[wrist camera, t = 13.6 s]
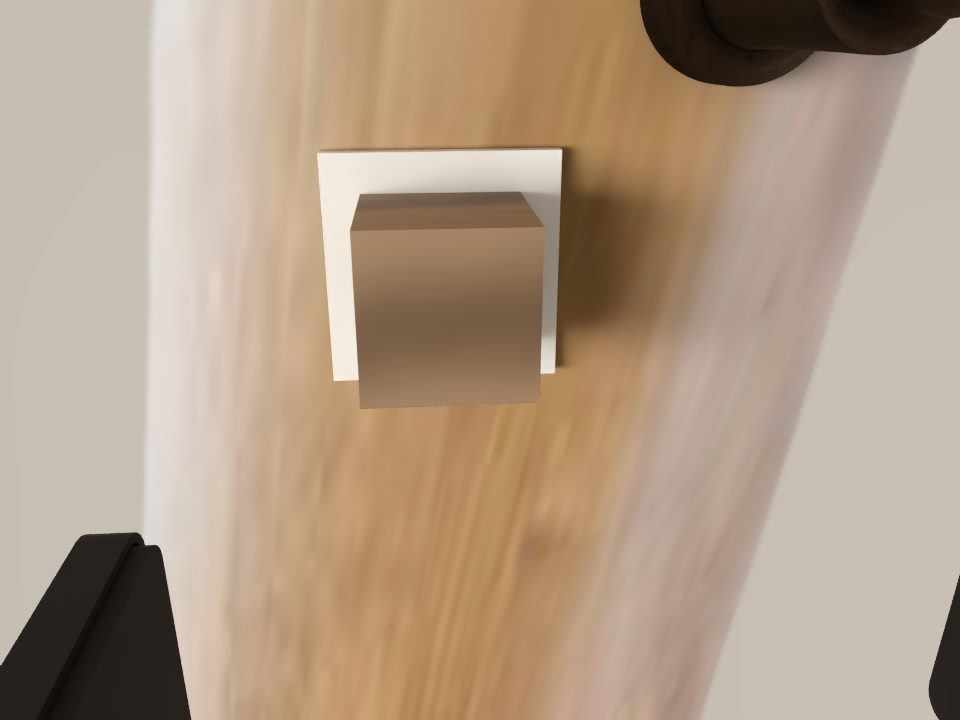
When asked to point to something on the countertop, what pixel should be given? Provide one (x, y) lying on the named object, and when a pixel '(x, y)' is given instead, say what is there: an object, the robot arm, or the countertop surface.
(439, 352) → the walnut cube
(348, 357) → the tile pad
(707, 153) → the countertop surface
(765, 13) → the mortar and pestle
